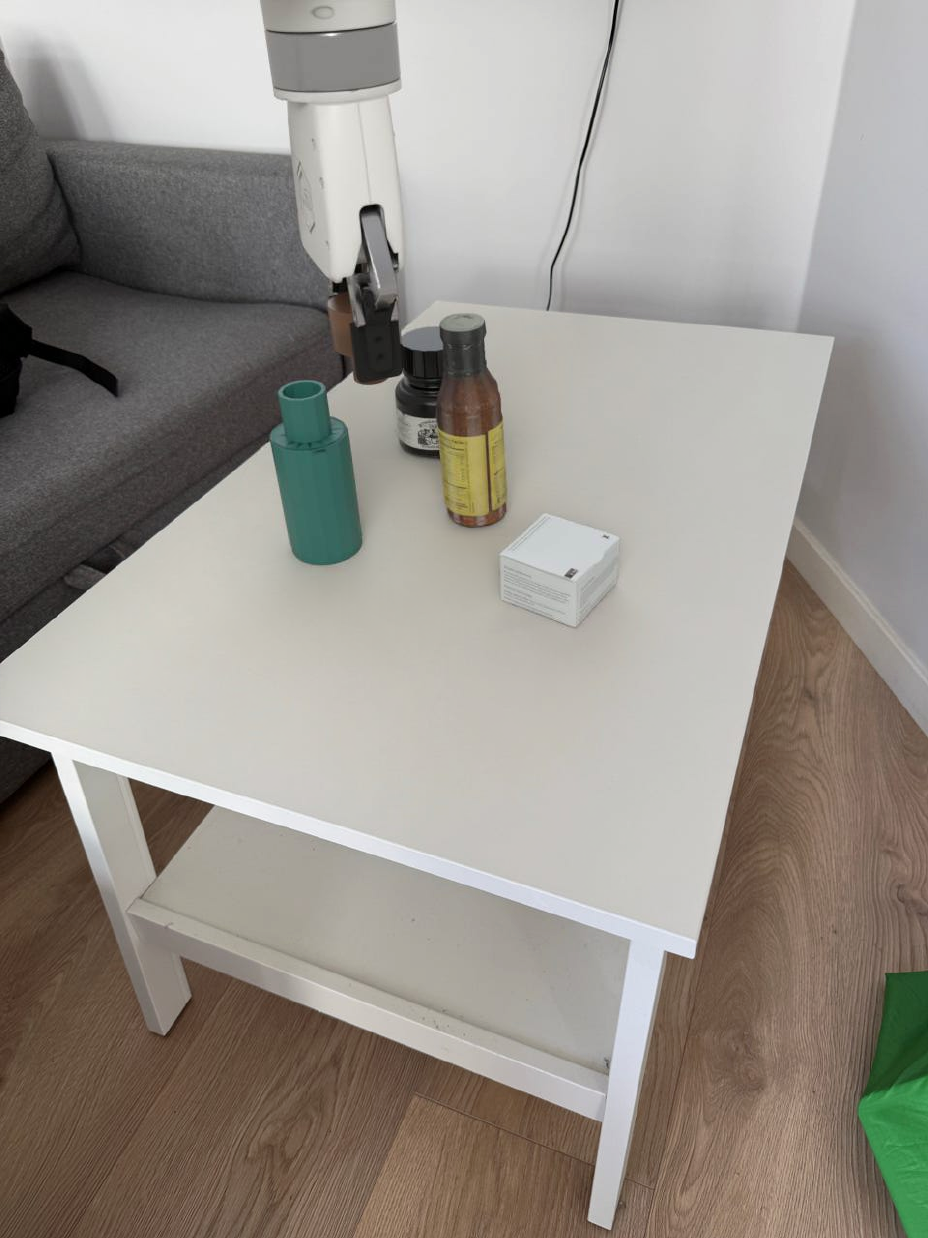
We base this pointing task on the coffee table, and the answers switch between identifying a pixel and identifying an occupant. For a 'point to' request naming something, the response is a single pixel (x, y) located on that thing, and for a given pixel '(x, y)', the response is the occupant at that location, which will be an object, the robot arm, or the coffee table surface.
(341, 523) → the bottle
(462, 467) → the sauce bottle
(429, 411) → the ink bottle
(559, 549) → the small box
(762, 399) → the coffee table surface
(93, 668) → the coffee table surface
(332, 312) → the stopper
